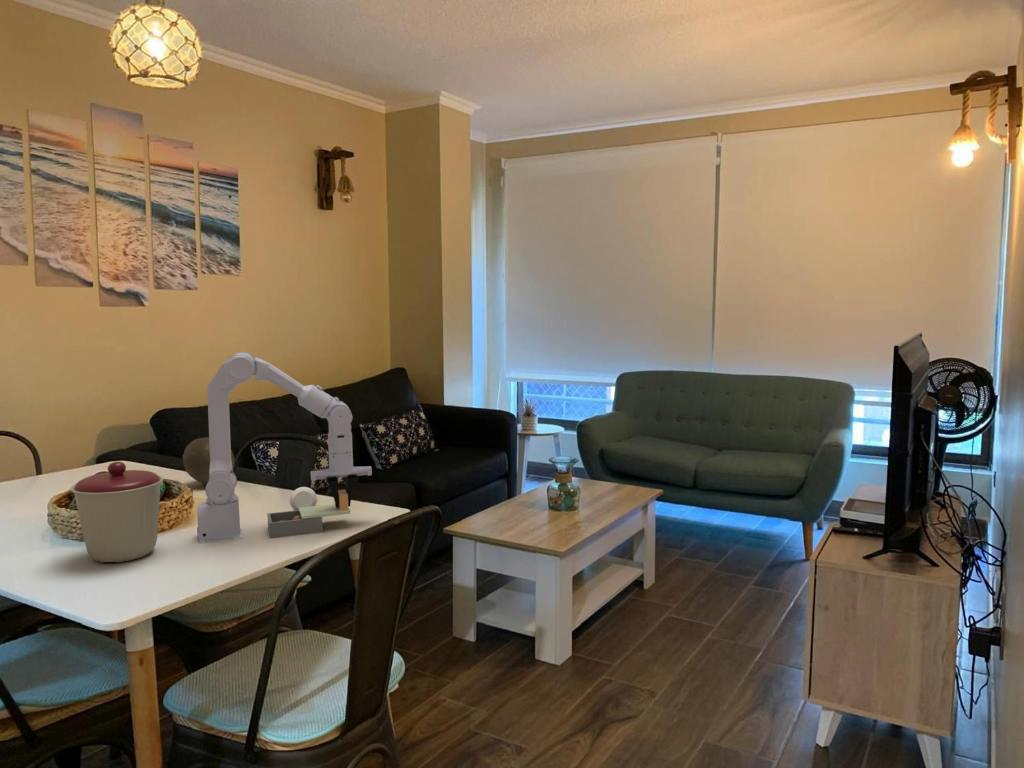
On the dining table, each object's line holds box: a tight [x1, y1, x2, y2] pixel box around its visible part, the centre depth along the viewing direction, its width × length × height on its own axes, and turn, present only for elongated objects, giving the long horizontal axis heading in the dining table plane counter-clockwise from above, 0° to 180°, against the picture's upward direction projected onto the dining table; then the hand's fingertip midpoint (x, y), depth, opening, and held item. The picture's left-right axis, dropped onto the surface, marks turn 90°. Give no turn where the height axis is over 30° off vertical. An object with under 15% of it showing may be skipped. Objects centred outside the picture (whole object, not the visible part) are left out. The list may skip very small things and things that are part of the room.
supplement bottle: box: [289, 486, 318, 511], centre depth 196 cm, size 7×7×13 cm
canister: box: [70, 461, 164, 563], centre depth 168 cm, size 18×18×21 cm
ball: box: [293, 515, 302, 520], centre depth 187 cm, size 3×3×3 cm
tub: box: [266, 510, 324, 539], centre depth 185 cm, size 12×9×4 cm
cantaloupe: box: [182, 436, 235, 486], centre depth 232 cm, size 14×14×15 cm
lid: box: [299, 489, 351, 519], centre depth 187 cm, size 11×8×4 cm
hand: (342, 506), depth 189 cm, fingers closed on lid, 2 cm apart
